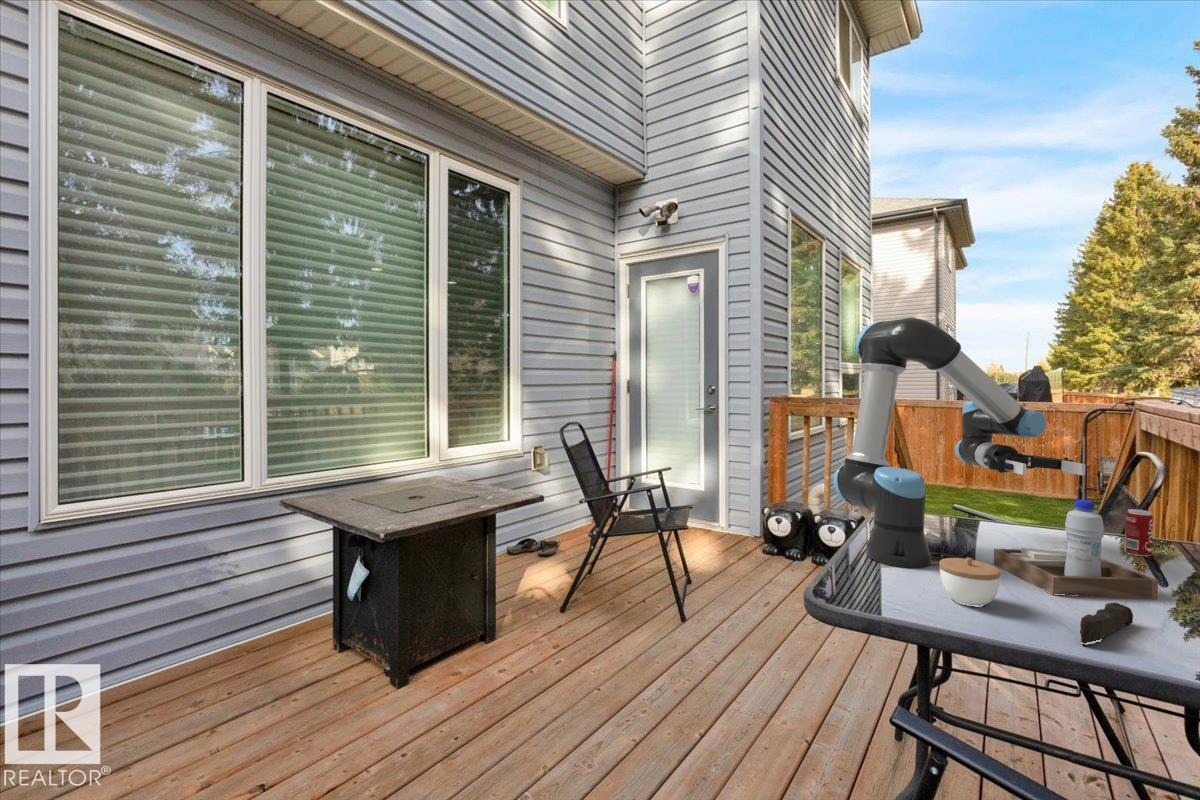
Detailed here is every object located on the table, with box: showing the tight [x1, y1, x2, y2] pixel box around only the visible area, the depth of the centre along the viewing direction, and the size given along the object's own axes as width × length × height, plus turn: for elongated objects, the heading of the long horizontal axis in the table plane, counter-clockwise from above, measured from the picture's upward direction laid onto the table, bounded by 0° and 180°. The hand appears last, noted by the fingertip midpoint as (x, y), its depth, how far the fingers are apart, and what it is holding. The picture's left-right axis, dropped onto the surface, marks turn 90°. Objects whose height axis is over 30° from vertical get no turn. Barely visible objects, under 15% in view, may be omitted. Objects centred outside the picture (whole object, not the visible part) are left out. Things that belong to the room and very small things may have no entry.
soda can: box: [1124, 508, 1154, 557], centre depth 146 cm, size 5×5×12 cm
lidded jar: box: [938, 557, 1001, 606], centre depth 115 cm, size 11×11×9 cm
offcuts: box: [1010, 546, 1066, 565], centre depth 132 cm, size 7×17×4 cm, turn 85°
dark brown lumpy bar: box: [1079, 602, 1134, 643], centre depth 101 cm, size 19×4×5 cm, turn 119°
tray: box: [993, 548, 1159, 599], centre depth 127 cm, size 20×21×4 cm
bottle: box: [1064, 498, 1105, 577], centre depth 123 cm, size 7×7×20 cm
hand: (1054, 469), depth 132 cm, fingers open, 13 cm apart
